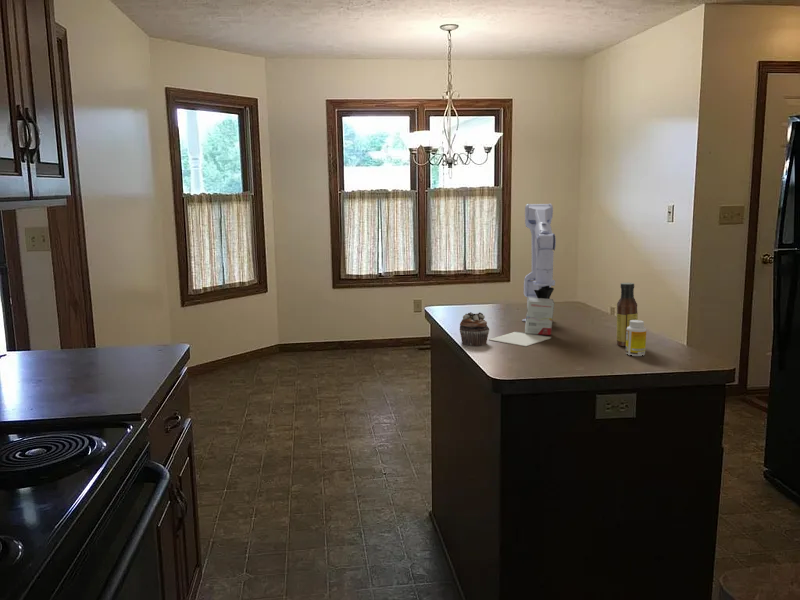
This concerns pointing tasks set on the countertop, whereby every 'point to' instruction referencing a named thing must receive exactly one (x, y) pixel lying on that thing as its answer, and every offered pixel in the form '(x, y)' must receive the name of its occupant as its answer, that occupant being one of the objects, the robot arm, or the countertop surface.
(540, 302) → the ink box
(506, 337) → the mat
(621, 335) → the sauce bottle
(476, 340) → the cupcake
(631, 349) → the supplement bottle
